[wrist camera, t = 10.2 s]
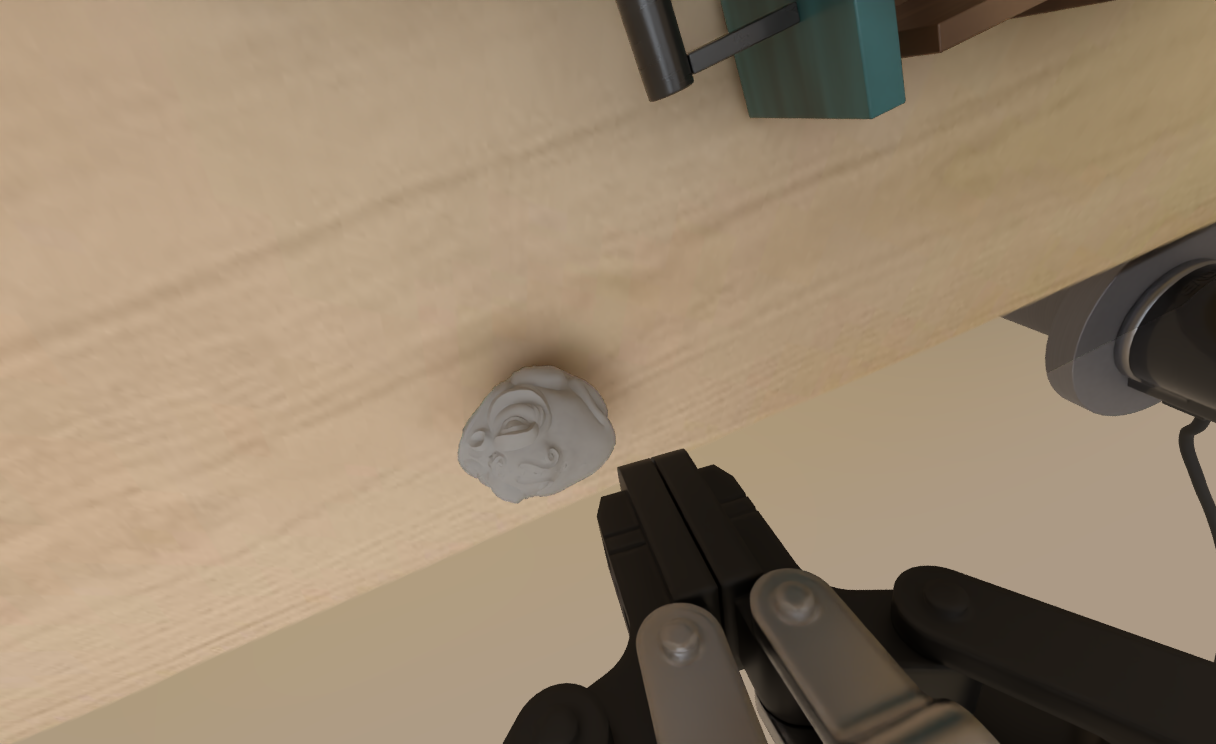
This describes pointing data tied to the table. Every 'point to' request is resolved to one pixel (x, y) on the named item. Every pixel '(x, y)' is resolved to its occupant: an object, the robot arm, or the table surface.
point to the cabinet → (1057, 6)
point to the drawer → (809, 49)
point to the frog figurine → (537, 434)
